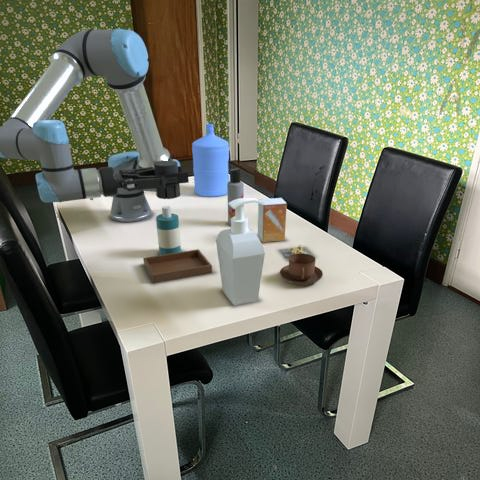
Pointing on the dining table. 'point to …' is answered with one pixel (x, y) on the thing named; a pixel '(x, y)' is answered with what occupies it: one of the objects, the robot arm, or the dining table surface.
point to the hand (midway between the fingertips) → (184, 174)
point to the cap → (161, 169)
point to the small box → (272, 219)
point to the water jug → (210, 164)
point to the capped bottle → (168, 232)
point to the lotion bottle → (234, 190)
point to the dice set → (294, 251)
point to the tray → (177, 266)
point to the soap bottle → (240, 257)
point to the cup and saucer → (301, 270)
